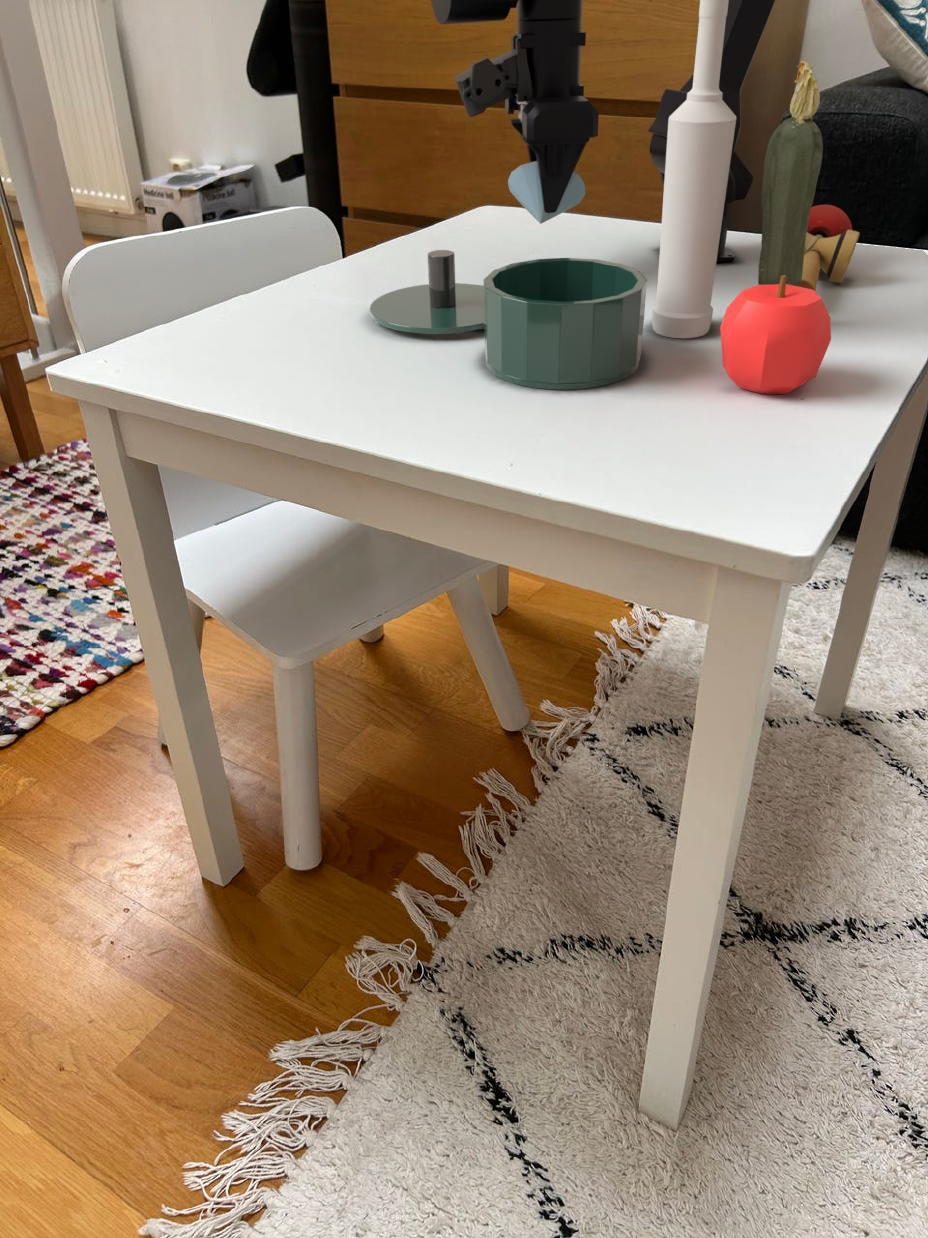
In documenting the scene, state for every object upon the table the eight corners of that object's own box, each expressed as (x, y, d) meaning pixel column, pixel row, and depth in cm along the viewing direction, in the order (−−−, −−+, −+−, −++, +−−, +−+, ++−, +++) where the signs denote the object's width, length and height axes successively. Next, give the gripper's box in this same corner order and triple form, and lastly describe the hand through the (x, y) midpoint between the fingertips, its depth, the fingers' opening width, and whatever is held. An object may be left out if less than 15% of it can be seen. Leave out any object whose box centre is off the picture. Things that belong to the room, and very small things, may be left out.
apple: (828, 371, 74) (849, 265, 70) (813, 410, 69) (835, 297, 64) (724, 359, 77) (738, 256, 73) (702, 395, 71) (715, 285, 67)
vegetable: (795, 335, 81) (841, 64, 70) (742, 333, 82) (780, 65, 71) (791, 318, 85) (835, 58, 73) (741, 316, 86) (776, 59, 74)
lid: (371, 297, 93) (366, 237, 90) (507, 291, 94) (507, 231, 91) (370, 344, 83) (364, 278, 79) (524, 336, 83) (525, 270, 80)
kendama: (846, 329, 86) (866, 250, 98) (846, 260, 82) (866, 186, 94) (757, 335, 89) (786, 258, 101) (753, 269, 85) (784, 197, 97)
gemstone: (568, 195, 87) (575, 146, 88) (490, 202, 90) (498, 155, 91) (588, 243, 94) (595, 198, 95) (515, 249, 97) (523, 204, 98)
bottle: (717, 323, 84) (759, -17, 70) (703, 342, 81) (744, -14, 66) (659, 317, 86) (689, -16, 72) (643, 335, 82) (671, -13, 68)
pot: (479, 339, 83) (478, 261, 79) (621, 331, 83) (627, 254, 80) (493, 393, 73) (492, 307, 69) (654, 385, 73) (662, 299, 69)
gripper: (452, 15, 92) (457, 190, 101) (466, 29, 77) (471, 233, 86) (567, 10, 93) (562, 185, 102) (604, 23, 77) (594, 227, 86)
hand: (546, 205), depth 94 cm, fingers closed on gemstone, 5 cm apart
